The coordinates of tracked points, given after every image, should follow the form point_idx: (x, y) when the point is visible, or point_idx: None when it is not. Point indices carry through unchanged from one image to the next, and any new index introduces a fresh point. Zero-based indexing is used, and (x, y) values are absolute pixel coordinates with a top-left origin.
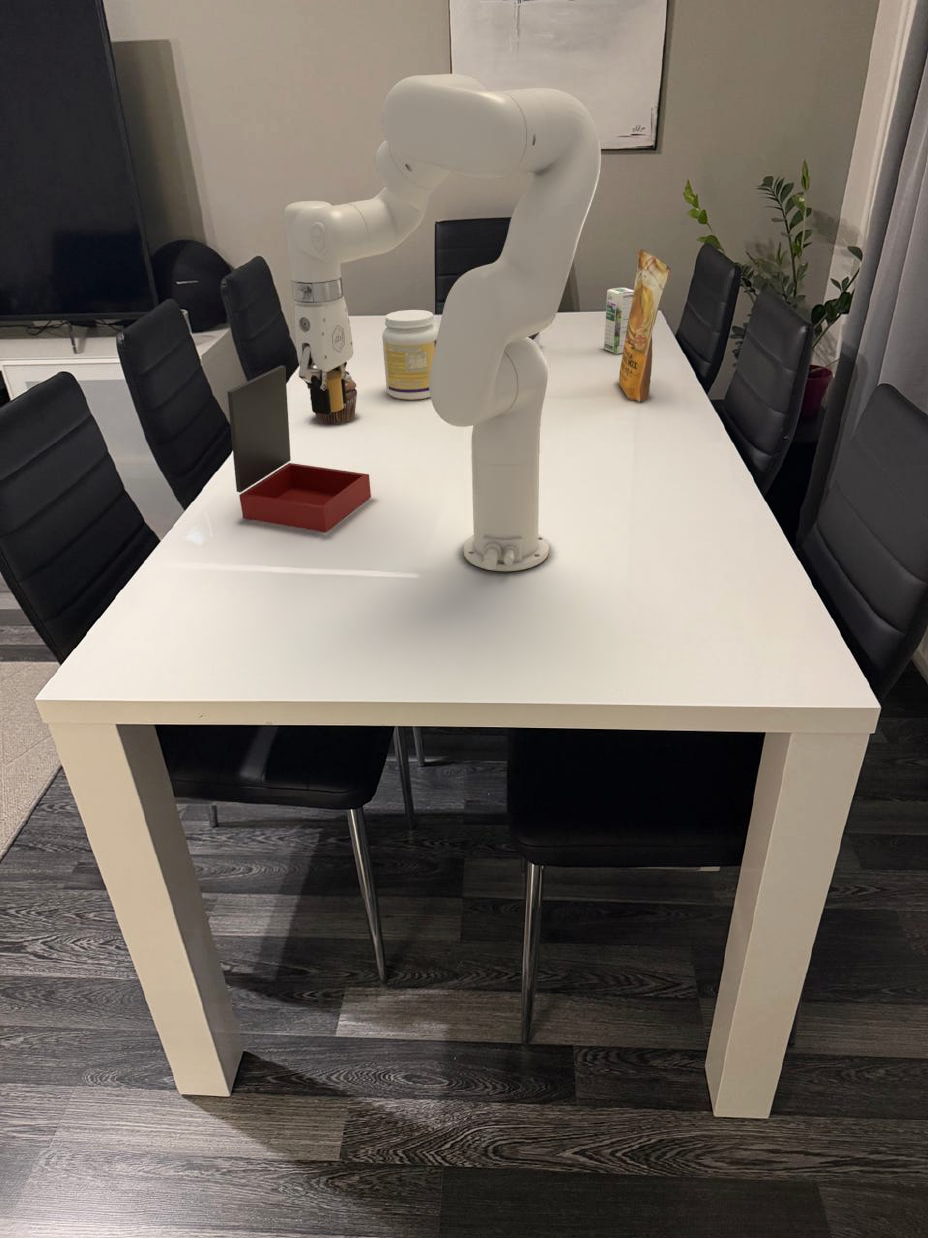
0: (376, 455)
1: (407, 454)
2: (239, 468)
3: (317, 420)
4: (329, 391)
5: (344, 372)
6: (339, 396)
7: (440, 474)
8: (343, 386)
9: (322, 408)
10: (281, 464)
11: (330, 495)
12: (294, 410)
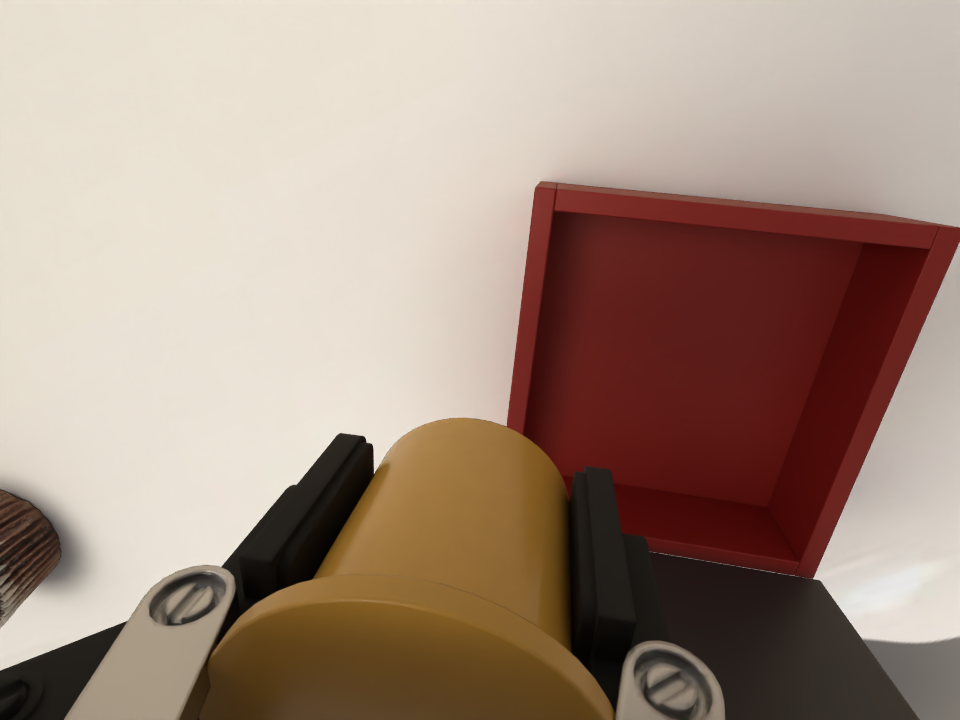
0: (181, 322)
1: (126, 220)
2: (867, 654)
3: (52, 569)
4: (553, 589)
5: (152, 616)
6: (476, 482)
7: (228, 4)
8: (303, 521)
9: (636, 535)
10: None
11: (562, 332)
12: (29, 637)
